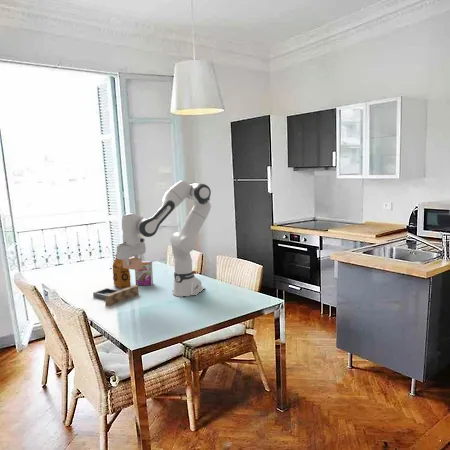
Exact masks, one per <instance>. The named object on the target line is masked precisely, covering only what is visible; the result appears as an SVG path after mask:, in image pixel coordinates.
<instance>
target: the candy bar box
mask: <svg viewBox="0 0 450 450" xmlns="http://www.w3.org/2000/svg"><path fill="white" fill-rule="evenodd" d="M153 273H154V272H153V261H152V260H142V269H139V270H134V276H135V285H138V286H152V285H153V284H154V282H153V281H154V278H153V276H154V275H153Z"/></svg>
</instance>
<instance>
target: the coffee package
mask: <svg viewBox="0 0 450 450" xmlns="http://www.w3.org/2000/svg"><path fill="white" fill-rule="evenodd" d="M114 257H115V259H114V262H113V263H112V275H113V276H112V279H113V285H114V286H116V287H117V288H119V289H120V290H122V289H125V288H128V287H130V286H132V284H131V273H130V269H127V268H123V263H122V260H119V259H117V253H116V254H115V255H114Z"/></svg>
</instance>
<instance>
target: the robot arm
mask: <svg viewBox="0 0 450 450" xmlns="http://www.w3.org/2000/svg"><path fill="white" fill-rule="evenodd" d="M211 192H212V191H211V188H210V187H209V185H207V184H205V183H201V182H191V183H189V182H187V181H186V180H179V181H178V182H176V183H174V185H172V186H171V187H170V188H169V189H168V190H167V191H166V192H165V193H164V194H163V195H162V197H161V206H160V208H159V209H158V210H157V211H156V212H155V213H154V214H153V215H152V216H151V217H149V218H147V217H144V216H140V215H138V214H136V213H134V212H129V213H126V214H124V215H123V216H122V218H121V230H122V242H120V243H118V245H117V246H116V254H117V259H119V260H122V259H125V261H126V262H127V265H131V262H129V257H133V258H139V256H140V255H143V254H145V253H146V250H147V249H146V248H147V247H146V243H145V241H146V239H145V238H151V237H154V236H155V235H156V233H157V232H158V229H159V227H160V226H161V224H162V223H163V222H164V221H165V220H166V218H167V217H169V216H170V214H171V213H172V212H174V210H175V209H176V208H177V207H179V206H180V205H181V204H182V202H184V201H185V200H186V199H190V200H193V201H194V202H193V206H192V208H191V209H190V211H189V213H188V215H187V216H186V218H185V219H184V221H183V225H182V229H181V231H177V232H176V231H175V232H174V233H172V234H171V236H170V245H171V250H172V251H171V252H172V255H173V259H174V272H173V273H174V274H173V275H174V277H173V278H174V280H173V289H172V292H173V296H176V297H179V298H180V297H181V298H182V297H183V296H186V297H191V296H190V295H196V296H198V295H199V294H200V293H199V292H201V291H202V290H203V289H204V288H205V289H206V287H205V286H202V281H201V280H200V279H199V278H198V277H196V276H195V275H196V274H197V271H198V270H193V258H192V257H191V252H193V250H194V249H195V247H196V241H197V238H198V235H199V232H200V230H201V229H202V227H203V225H204V223H205V221H206V219H208V216H209V213H210V211H211V208H212V205H211V202H210V201H211V194H212V193H211ZM139 234H141V235H142V236H143V237H139ZM144 237H145V238H144ZM203 291H204V290H203ZM203 291H202V292H203ZM202 292H201V293H202ZM198 293H199V294H198ZM197 294H198V295H197ZM183 298H184V297H183Z"/></svg>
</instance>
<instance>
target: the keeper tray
mask: <svg viewBox="0 0 450 450" xmlns="http://www.w3.org/2000/svg"><path fill="white" fill-rule="evenodd" d="M116 291H119V290H118V289H113V288H109V287H106V288H103V289H100V290H97V291H94V292H93V294H92V296H93V298H96V299H100V300H103V301H105V295H108V294H111V293H114V292H116Z"/></svg>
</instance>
